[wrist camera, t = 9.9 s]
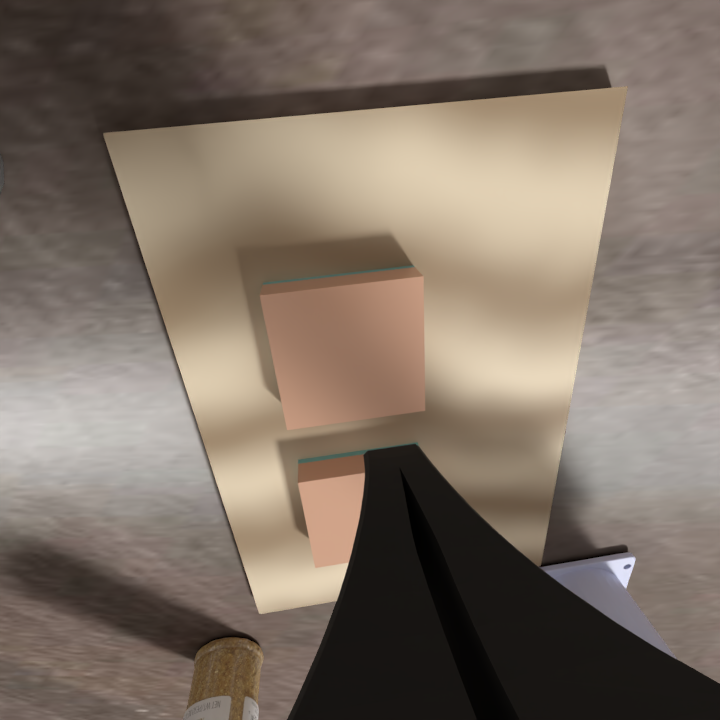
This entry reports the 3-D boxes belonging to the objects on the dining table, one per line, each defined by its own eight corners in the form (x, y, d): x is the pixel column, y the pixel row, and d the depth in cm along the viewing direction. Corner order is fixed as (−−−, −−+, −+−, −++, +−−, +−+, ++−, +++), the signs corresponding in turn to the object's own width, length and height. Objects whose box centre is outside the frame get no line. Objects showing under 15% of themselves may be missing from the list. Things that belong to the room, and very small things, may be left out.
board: (534, 555, 28) (540, 565, 27) (260, 601, 26) (259, 614, 26) (612, 89, 15) (627, 86, 15) (112, 133, 14) (102, 133, 13)
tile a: (426, 549, 22) (315, 568, 22) (419, 525, 24) (314, 542, 23) (426, 463, 19) (297, 483, 19) (417, 442, 21) (298, 459, 20)
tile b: (425, 410, 18) (287, 430, 18) (416, 391, 20) (288, 409, 19) (423, 276, 15) (259, 295, 15) (413, 265, 17) (263, 282, 16)
